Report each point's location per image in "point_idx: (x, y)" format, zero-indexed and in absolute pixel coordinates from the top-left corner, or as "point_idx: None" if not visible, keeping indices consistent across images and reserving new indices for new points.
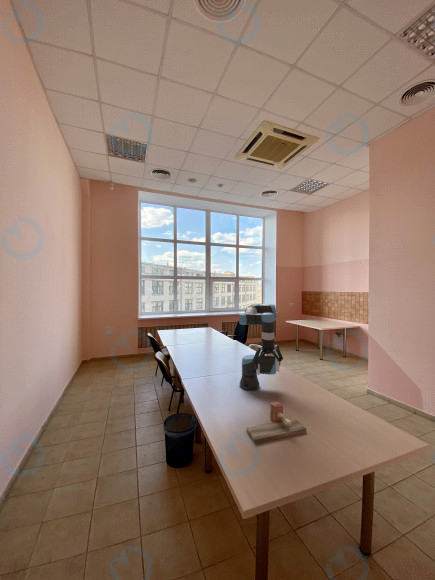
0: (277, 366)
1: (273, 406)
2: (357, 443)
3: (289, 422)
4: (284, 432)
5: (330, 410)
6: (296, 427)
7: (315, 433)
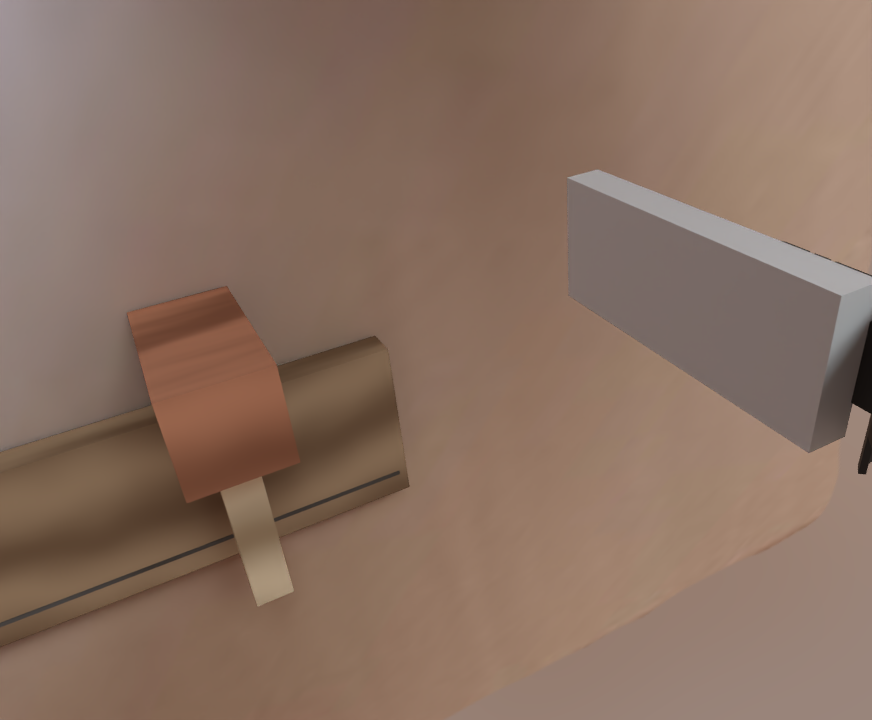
0: (664, 315)
1: (174, 467)
2: (619, 529)
3: (274, 596)
4: (203, 561)
5: (741, 174)
6: (337, 485)
7: (454, 471)
